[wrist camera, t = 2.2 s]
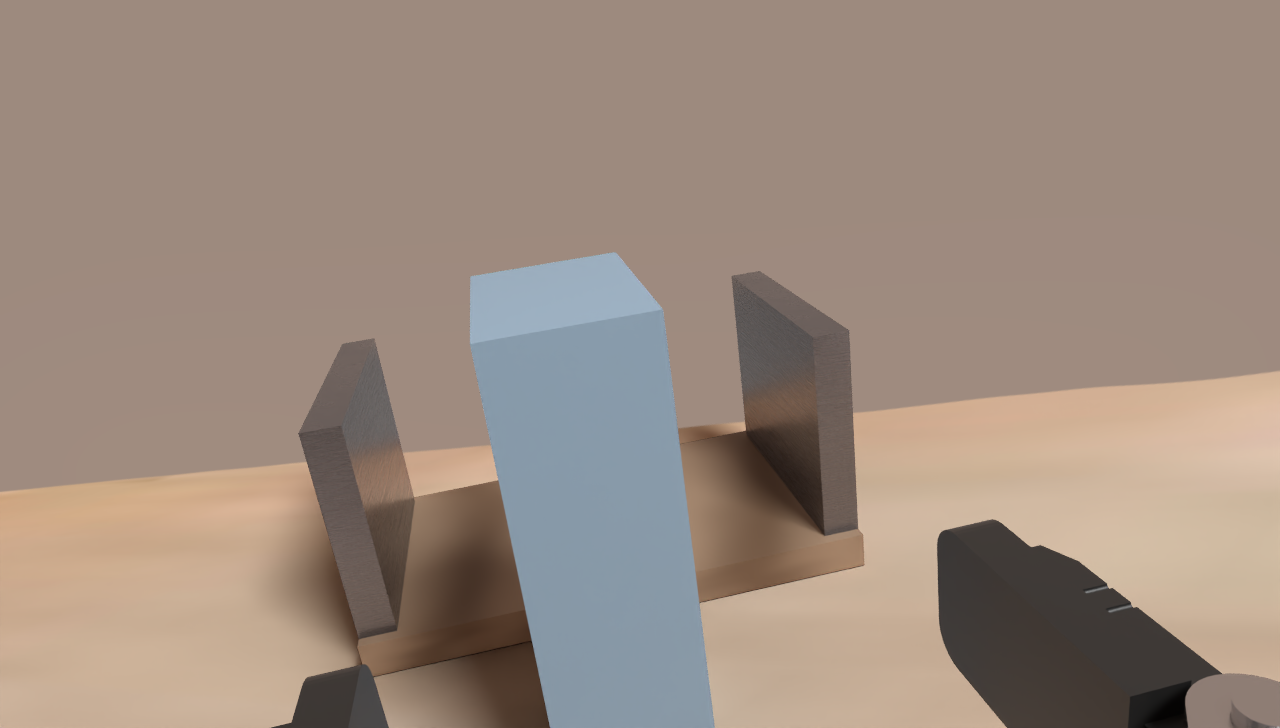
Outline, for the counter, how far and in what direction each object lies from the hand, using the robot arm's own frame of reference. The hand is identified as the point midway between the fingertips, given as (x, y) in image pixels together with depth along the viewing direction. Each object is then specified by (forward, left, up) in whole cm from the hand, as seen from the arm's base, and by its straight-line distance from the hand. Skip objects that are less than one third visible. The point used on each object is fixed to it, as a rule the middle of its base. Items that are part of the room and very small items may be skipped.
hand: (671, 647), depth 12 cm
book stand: (+1, +26, -14) cm, 29 cm away
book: (0, +13, -14) cm, 19 cm away
